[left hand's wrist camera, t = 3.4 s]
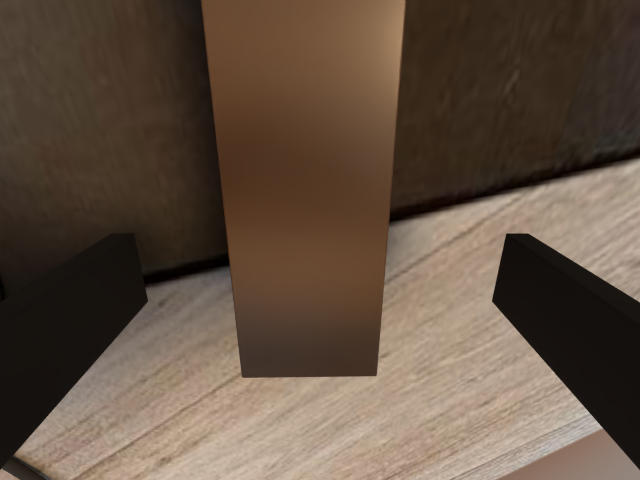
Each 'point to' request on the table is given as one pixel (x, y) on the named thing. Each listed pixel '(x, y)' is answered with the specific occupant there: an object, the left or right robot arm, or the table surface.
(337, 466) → the table surface
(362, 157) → the bar
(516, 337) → the table surface
